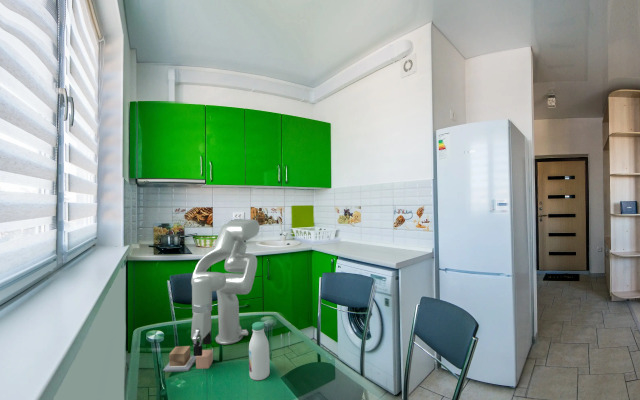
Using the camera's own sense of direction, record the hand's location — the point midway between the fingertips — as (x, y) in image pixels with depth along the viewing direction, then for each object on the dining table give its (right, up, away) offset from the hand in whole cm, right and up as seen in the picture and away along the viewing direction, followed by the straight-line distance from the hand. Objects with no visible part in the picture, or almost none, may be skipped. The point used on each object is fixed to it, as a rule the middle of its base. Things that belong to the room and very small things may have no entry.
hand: (202, 349), depth 124 cm
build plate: (-10, -7, +2) cm, 12 cm away
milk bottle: (+24, -7, -6) cm, 26 cm away
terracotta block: (0, -7, +1) cm, 7 cm away
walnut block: (-10, -6, +2) cm, 12 cm away
